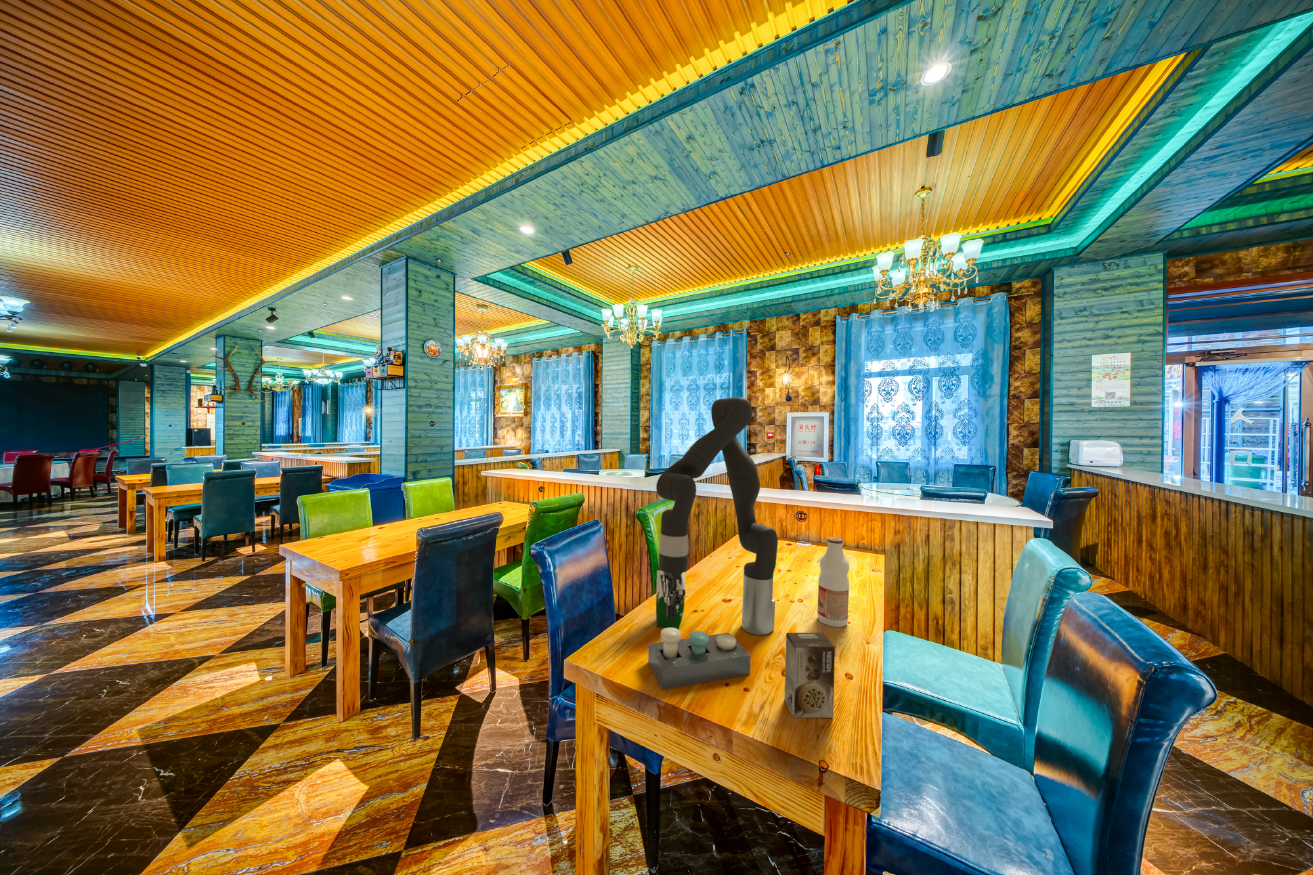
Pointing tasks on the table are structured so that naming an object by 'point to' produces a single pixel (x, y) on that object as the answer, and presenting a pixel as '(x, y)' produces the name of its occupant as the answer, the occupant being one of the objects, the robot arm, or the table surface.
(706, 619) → the table surface
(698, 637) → the plug teal
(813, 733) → the table surface
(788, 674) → the coffee box
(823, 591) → the fruit juice
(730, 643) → the ivory plug
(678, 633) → the ivory plug
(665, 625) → the milk carton
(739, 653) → the socket strip
